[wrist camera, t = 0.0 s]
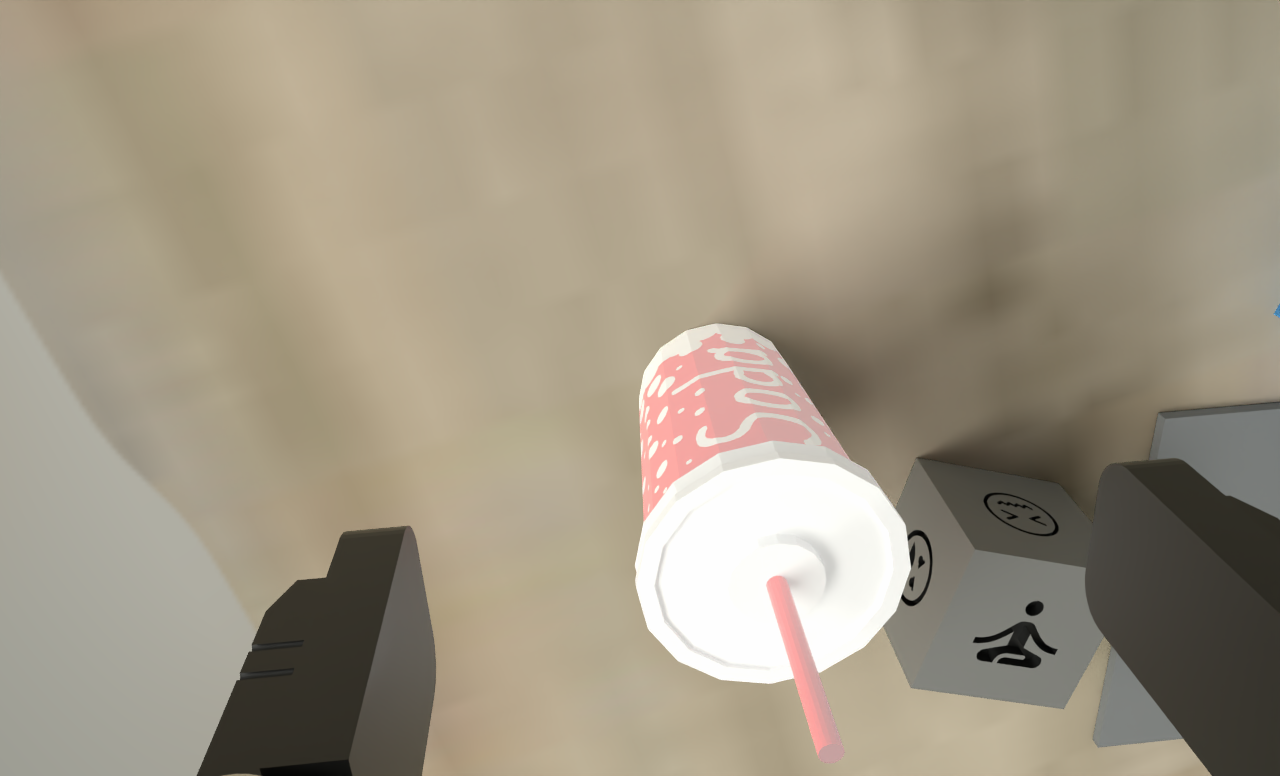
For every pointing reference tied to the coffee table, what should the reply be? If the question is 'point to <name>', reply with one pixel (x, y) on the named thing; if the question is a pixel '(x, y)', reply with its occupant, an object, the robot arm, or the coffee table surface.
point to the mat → (1237, 466)
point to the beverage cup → (758, 523)
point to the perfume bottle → (1277, 311)
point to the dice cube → (993, 586)
